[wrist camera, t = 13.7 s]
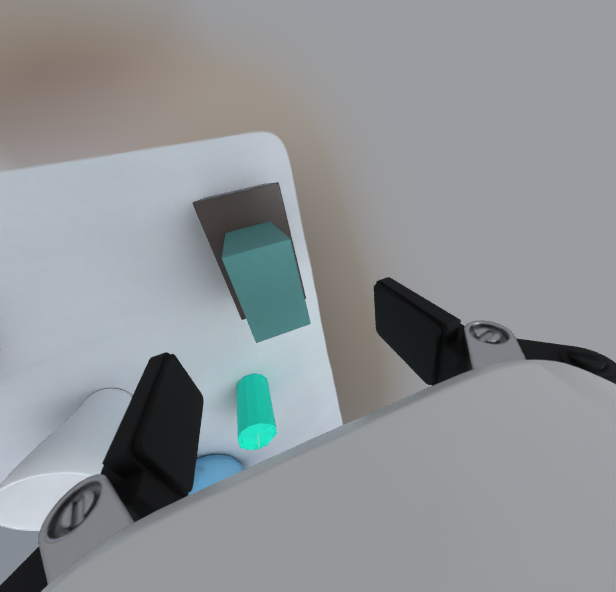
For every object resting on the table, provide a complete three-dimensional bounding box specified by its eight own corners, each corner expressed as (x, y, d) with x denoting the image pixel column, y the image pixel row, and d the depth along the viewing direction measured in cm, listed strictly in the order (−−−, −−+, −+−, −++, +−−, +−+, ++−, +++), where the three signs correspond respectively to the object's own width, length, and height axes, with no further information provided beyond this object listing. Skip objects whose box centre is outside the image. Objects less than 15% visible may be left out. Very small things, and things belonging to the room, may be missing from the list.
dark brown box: (204, 197, 28) (192, 202, 20) (265, 183, 30) (278, 182, 21) (239, 287, 35) (241, 320, 26) (288, 272, 36) (306, 298, 27)
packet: (225, 232, 22) (221, 258, 14) (270, 221, 22) (290, 238, 15) (248, 294, 25) (256, 343, 17) (287, 282, 26) (310, 323, 18)
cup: (162, 407, 40) (133, 498, 28) (99, 433, 38) (40, 541, 26) (124, 367, 34) (69, 458, 23) (49, 395, 33) (-50, 508, 21)
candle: (246, 401, 45) (250, 465, 35) (230, 383, 42) (230, 447, 32) (273, 387, 45) (285, 445, 35) (259, 368, 42) (268, 426, 32)
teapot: (263, 449, 53) (271, 514, 42) (226, 498, 57) (225, 569, 46) (188, 442, 45) (175, 520, 34) (151, 499, 49) (130, 585, 38)
